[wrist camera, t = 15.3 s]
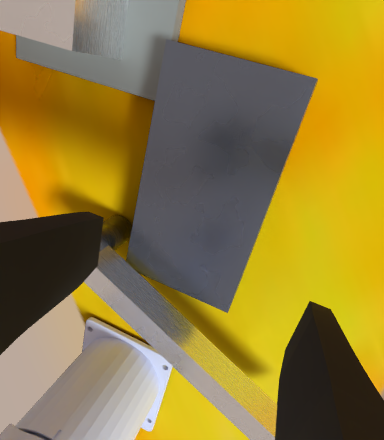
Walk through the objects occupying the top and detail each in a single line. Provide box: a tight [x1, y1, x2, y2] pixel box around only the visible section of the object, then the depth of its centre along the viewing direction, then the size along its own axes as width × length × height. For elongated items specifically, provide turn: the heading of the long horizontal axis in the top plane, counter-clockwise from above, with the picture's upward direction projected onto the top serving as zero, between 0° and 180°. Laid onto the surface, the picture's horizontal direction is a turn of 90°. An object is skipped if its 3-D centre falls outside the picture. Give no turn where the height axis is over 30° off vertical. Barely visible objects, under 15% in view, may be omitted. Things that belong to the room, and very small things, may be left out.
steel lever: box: [84, 215, 277, 440], centre depth 20 cm, size 2×18×5 cm, turn 51°
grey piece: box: [126, 39, 318, 313], centre depth 18 cm, size 13×7×2 cm, turn 166°
